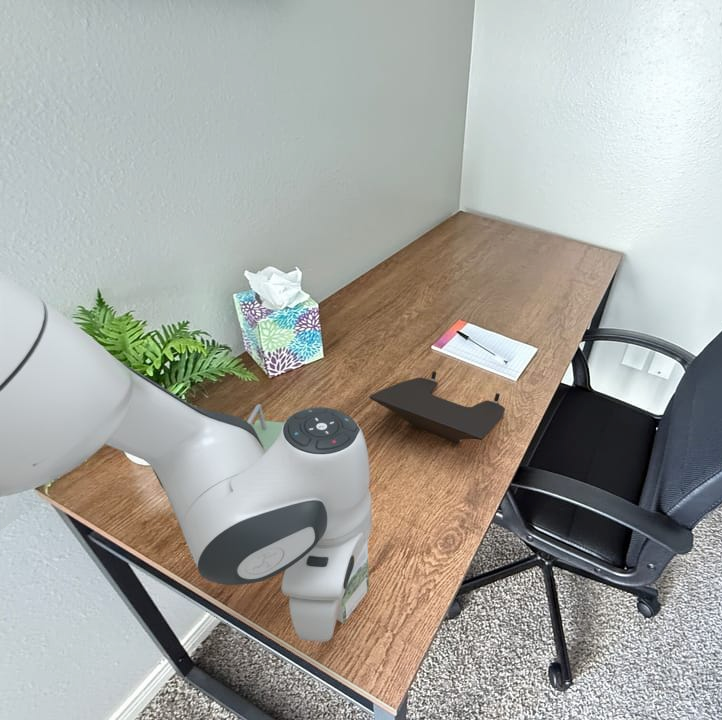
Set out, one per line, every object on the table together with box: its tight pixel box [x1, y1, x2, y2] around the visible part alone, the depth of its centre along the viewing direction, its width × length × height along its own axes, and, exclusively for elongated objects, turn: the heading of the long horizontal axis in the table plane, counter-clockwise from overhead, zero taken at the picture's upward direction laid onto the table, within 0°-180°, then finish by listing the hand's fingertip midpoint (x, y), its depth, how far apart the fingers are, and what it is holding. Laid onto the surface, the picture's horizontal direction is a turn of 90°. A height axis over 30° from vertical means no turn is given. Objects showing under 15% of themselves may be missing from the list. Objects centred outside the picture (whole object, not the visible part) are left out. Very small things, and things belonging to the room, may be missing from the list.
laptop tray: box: [369, 370, 506, 444], centre depth 95 cm, size 23×23×9 cm
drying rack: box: [246, 403, 284, 452], centre depth 84 cm, size 16×14×7 cm
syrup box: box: [336, 539, 370, 624], centre depth 63 cm, size 6×6×14 cm
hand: (341, 577), depth 63 cm, fingers closed on syrup box, 7 cm apart
